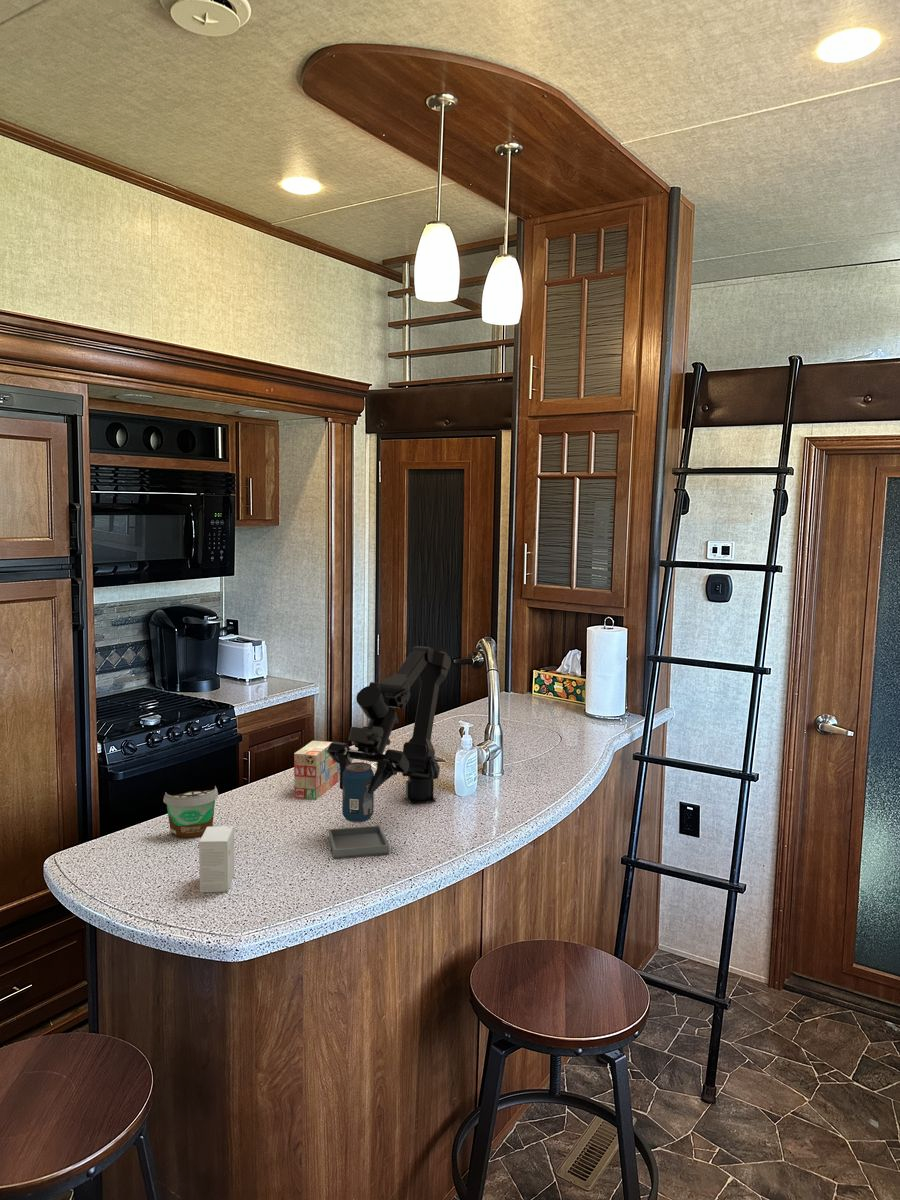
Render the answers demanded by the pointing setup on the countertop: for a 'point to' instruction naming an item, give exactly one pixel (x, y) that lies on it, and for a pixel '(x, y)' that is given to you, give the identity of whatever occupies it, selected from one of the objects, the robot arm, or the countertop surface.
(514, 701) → the countertop surface
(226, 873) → the small box
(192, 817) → the food container
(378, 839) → the tray
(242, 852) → the countertop surface
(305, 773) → the stack of blocks
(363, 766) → the soda can
